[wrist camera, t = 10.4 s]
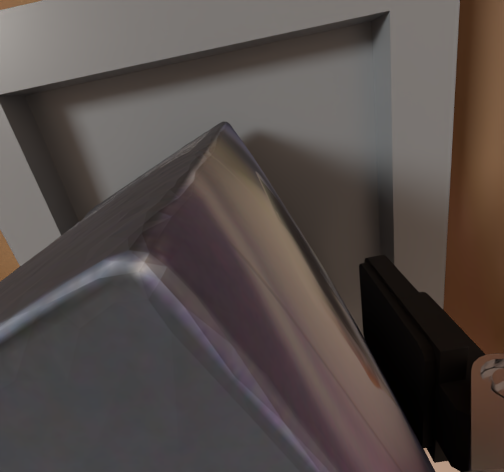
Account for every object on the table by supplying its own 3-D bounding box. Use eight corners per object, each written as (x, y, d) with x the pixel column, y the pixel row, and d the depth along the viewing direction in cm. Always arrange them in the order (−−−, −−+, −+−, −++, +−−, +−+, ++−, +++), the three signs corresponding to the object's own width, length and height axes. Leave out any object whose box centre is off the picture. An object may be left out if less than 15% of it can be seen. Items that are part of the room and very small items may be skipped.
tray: (-43, 45, 11) (-105, 34, 9) (421, -59, 10) (465, -96, 8) (141, 430, 19) (129, 469, 17) (415, 386, 18) (437, 422, 16)
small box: (365, 325, 14) (620, 792, 5) (242, 386, 16) (243, 856, 6) (233, 108, 11) (162, 226, 1) (84, 210, 12) (-589, 704, 2)
